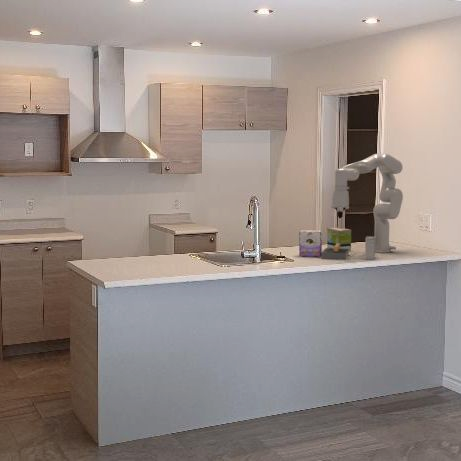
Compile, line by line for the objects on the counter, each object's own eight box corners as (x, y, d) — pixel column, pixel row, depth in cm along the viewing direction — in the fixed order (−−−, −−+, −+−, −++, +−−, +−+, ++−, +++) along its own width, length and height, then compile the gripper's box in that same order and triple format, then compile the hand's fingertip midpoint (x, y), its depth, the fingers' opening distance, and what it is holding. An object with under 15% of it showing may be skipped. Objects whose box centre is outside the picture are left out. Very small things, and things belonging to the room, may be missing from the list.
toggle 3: (340, 248, 466) (340, 243, 465) (339, 249, 463) (339, 244, 462) (336, 248, 466) (336, 243, 466) (335, 248, 463) (335, 244, 463)
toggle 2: (338, 250, 455) (338, 245, 455) (337, 251, 452) (337, 246, 452) (334, 250, 456) (334, 245, 455) (333, 251, 453) (333, 246, 452)
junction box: (374, 256, 460) (375, 236, 458) (373, 259, 448) (374, 239, 446) (366, 256, 461) (366, 236, 460) (364, 259, 449) (365, 238, 448)
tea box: (326, 249, 494) (326, 227, 492) (338, 248, 498) (339, 227, 496) (338, 252, 480) (339, 230, 478) (351, 251, 484) (351, 229, 483)
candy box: (322, 256, 464) (322, 230, 462) (320, 257, 458) (321, 231, 456) (300, 255, 468) (300, 229, 466) (299, 256, 462) (299, 230, 460)
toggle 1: (339, 249, 460) (339, 244, 460) (338, 250, 457) (338, 245, 457) (335, 249, 461) (335, 244, 461) (334, 250, 458) (334, 245, 458)
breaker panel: (348, 255, 468) (348, 248, 467) (345, 259, 448) (345, 252, 448) (325, 254, 471) (325, 247, 471) (321, 258, 452) (321, 252, 452)
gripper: (353, 188, 456) (352, 217, 458) (329, 188, 460) (328, 217, 462) (352, 189, 449) (351, 218, 451) (328, 188, 452) (327, 218, 454)
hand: (340, 218), depth 456 cm, fingers closed
